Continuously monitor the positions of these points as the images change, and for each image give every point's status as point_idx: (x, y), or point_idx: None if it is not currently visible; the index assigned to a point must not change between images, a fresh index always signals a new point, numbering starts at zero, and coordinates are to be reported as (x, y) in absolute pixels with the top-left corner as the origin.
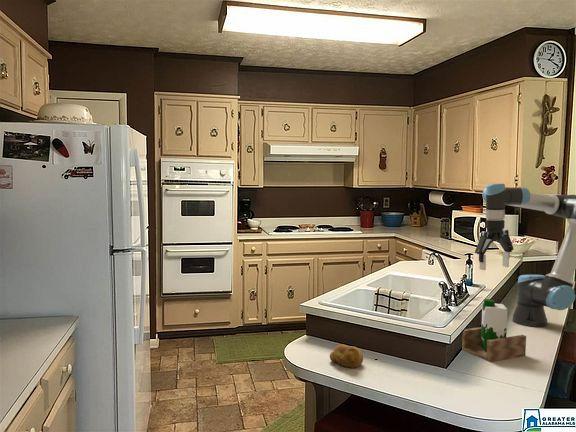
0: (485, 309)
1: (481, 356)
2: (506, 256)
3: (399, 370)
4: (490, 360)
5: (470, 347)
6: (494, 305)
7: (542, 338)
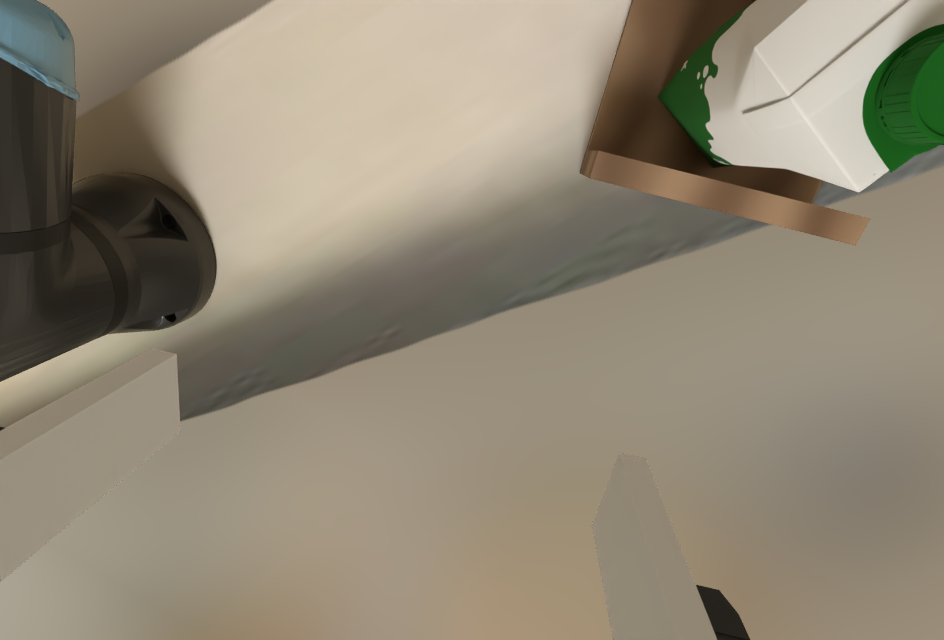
0: None
1: None
2: (17, 479)
3: None
4: None
5: (775, 192)
6: (931, 36)
7: (305, 68)
